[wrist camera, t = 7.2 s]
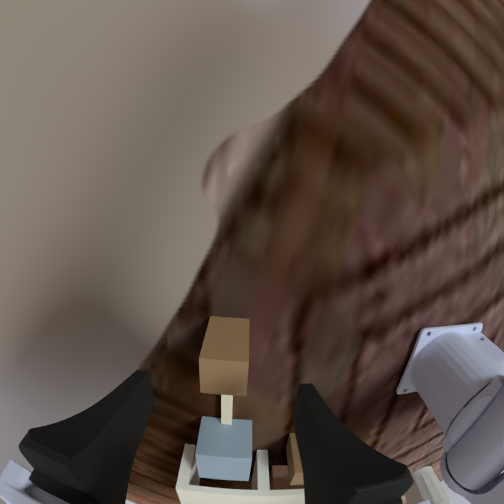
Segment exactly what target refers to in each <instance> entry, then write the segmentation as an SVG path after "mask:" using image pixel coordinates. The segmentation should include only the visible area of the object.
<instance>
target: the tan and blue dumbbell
mask: <svg viewBox="0 0 504 504" xmlns="http://www.w3.org/2000/svg"><path fill="white" fill-rule="evenodd" d="M248 365H249V319H244V318H229V317H216V316H210V320H209V323H208V327H207V330H206V334H205V338H204V341H203V345H202V349H201V352H200V356H199V372H200V391H201V393H210V394H220V395H221V418H214V417H204V416H202V419H201V425H200V430H199V436H198V441H197V447H196V452H195V456H196V462H197V469H198V475H199V477H202V478H211V479H221V480H236V481H249V476H250V469H251V462H252V420H240V419H232V405H233V395H234V396H246V390H247V378H248Z"/></svg>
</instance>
